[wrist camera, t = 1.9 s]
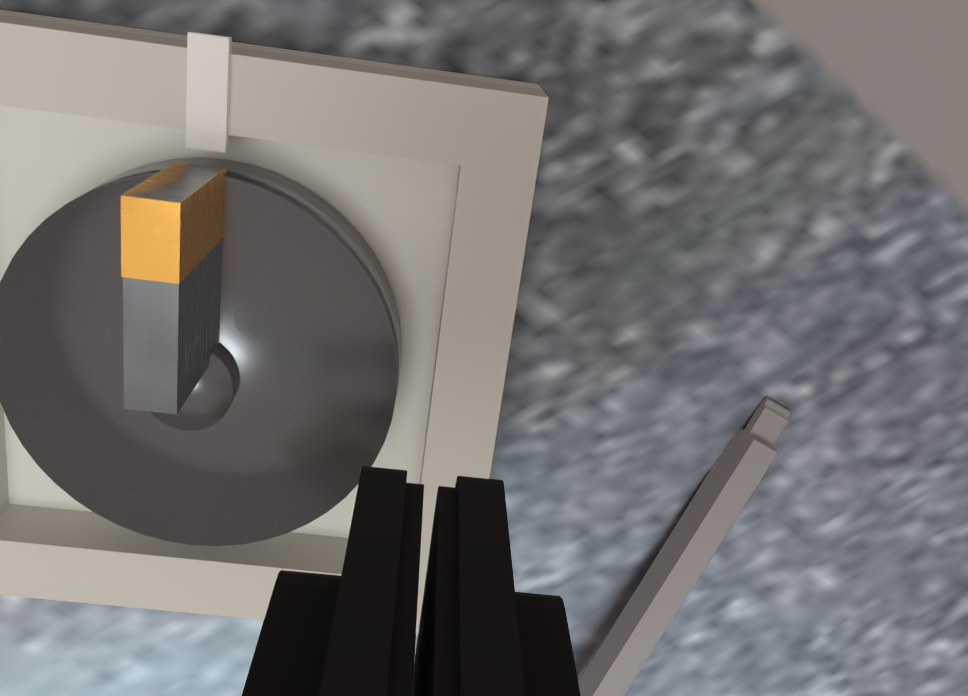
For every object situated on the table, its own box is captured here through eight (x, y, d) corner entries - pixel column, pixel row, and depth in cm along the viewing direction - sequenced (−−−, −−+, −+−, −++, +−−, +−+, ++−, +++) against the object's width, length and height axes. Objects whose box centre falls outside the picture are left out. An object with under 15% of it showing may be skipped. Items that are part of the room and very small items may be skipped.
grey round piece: (384, 518, 30) (364, 655, 24) (37, 482, 29) (-75, 613, 23) (422, 173, 26) (410, 232, 20) (20, 121, 25) (-120, 164, 19)
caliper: (481, 803, 37) (484, 956, 31) (457, 794, 37) (457, 945, 31) (787, 405, 31) (862, 504, 25) (761, 391, 31) (831, 487, 25)
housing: (540, 69, 27) (552, 82, 23) (464, 574, 33) (464, 645, 29) (-85, -18, 25) (-173, -18, 22) (-40, 524, 32) (-103, 591, 28)
